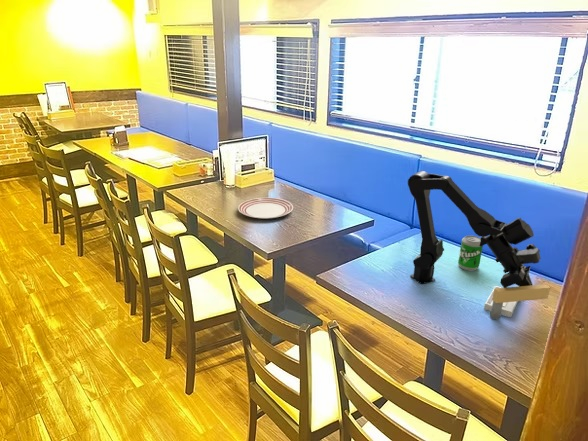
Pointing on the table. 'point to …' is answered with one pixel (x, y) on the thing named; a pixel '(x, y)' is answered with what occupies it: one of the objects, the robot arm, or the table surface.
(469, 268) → the soda can
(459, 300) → the table surface
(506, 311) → the white flat block
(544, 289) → the bar
